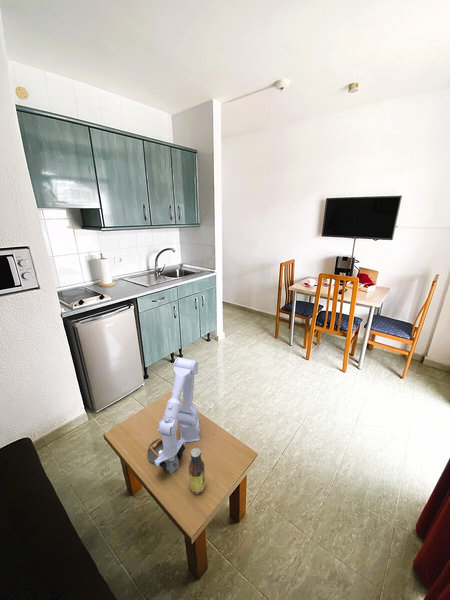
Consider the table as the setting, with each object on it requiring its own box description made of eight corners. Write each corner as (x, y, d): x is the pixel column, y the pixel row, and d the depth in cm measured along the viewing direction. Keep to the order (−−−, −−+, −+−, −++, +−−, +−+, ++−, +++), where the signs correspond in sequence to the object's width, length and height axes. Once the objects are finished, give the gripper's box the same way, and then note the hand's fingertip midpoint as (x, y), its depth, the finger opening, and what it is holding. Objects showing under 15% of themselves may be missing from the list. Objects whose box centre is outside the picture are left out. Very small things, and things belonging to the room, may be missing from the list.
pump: (173, 461, 111) (172, 450, 108) (180, 469, 108) (179, 458, 105) (166, 467, 108) (164, 457, 106) (173, 476, 105) (171, 465, 102)
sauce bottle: (207, 492, 99) (205, 458, 92) (191, 497, 97) (189, 463, 90) (203, 476, 105) (202, 443, 97) (189, 480, 103) (186, 447, 96)
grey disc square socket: (165, 437, 122) (164, 430, 121) (179, 450, 116) (178, 444, 114) (143, 453, 114) (142, 447, 113) (157, 470, 107) (156, 463, 106)
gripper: (177, 426, 110) (179, 447, 115) (149, 448, 100) (152, 470, 105) (187, 435, 106) (189, 457, 111) (159, 459, 96) (162, 482, 101)
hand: (172, 464), depth 108 cm, fingers open, 7 cm apart
